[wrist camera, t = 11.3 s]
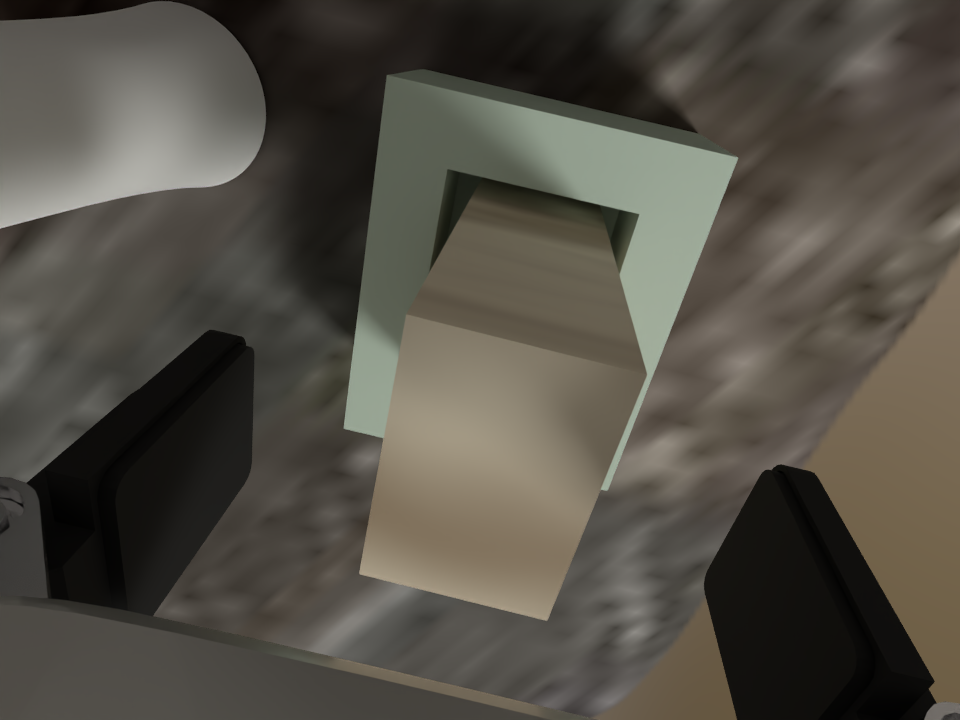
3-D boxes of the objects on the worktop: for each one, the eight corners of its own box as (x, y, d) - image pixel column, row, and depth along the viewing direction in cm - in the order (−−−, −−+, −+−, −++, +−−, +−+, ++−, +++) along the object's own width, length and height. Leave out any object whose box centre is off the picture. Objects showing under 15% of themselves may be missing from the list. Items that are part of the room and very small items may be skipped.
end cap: (422, 68, 21) (386, 75, 16) (699, 133, 21) (738, 157, 16) (379, 363, 26) (343, 428, 22) (598, 415, 26) (607, 491, 21)
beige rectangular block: (483, 175, 20) (406, 313, 10) (599, 204, 20) (647, 374, 10) (448, 333, 23) (359, 574, 13) (550, 358, 23) (547, 620, 13)
